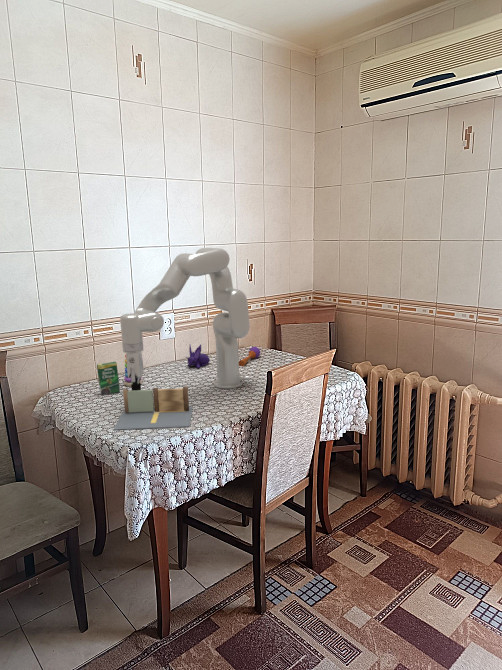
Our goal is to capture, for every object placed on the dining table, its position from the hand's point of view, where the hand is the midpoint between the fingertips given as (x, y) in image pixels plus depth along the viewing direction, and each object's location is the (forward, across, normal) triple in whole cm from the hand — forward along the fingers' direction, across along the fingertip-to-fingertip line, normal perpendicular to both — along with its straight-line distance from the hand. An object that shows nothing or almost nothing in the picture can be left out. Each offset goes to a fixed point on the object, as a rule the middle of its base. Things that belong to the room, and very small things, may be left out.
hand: (136, 393), depth 188 cm
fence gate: (+5, -5, -1) cm, 7 cm away
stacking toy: (+6, +31, +6) cm, 32 cm away
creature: (+6, +55, -22) cm, 60 cm away
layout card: (+6, -11, -8) cm, 15 cm away
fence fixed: (+6, -6, -13) cm, 16 cm away
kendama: (+7, +60, -48) cm, 77 cm away
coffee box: (+6, +20, +14) cm, 26 cm away
